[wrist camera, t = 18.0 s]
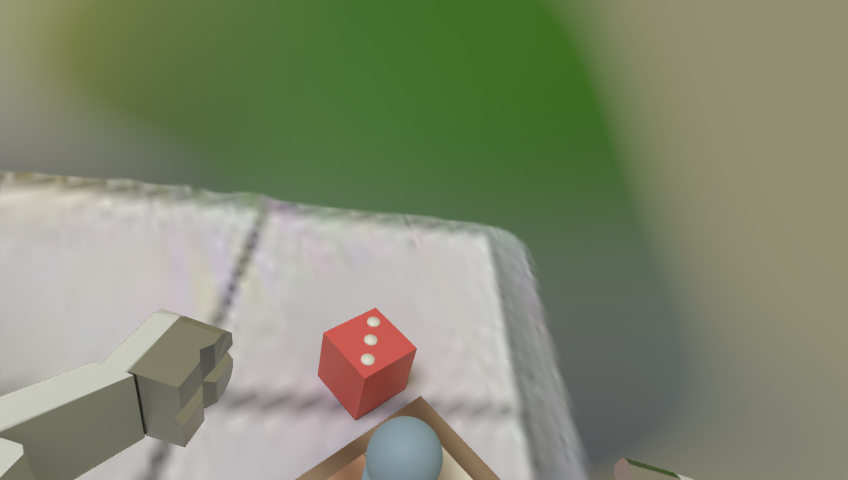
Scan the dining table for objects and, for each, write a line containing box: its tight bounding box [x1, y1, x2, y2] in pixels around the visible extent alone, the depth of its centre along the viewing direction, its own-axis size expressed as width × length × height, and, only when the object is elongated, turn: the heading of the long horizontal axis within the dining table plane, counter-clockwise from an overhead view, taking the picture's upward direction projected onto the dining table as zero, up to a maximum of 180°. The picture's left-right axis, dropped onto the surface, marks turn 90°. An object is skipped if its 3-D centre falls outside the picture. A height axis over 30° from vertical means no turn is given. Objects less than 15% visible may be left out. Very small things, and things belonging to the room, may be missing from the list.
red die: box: [318, 308, 417, 420], centre depth 49 cm, size 6×6×6 cm
